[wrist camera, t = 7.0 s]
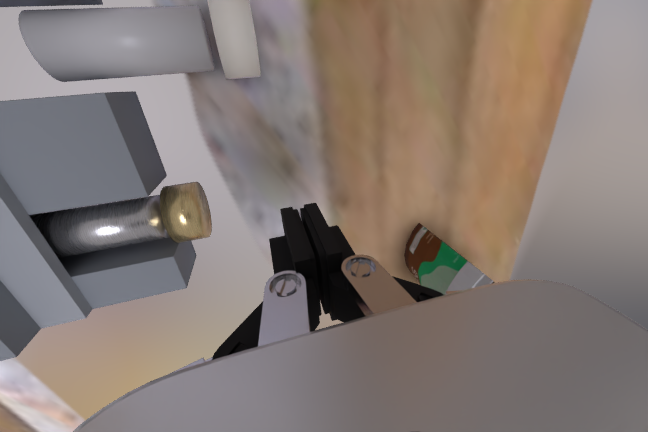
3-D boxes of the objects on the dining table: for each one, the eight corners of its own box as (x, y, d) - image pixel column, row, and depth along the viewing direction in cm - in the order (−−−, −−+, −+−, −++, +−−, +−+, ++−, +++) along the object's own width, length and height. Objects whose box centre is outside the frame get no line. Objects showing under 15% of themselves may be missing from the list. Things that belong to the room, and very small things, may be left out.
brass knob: (38, 198, 17) (-14, 225, 14) (199, 174, 19) (188, 193, 16) (69, 247, 19) (30, 282, 16) (213, 221, 21) (207, 247, 18)
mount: (-188, -71, 11) (-691, -254, 5) (77, -65, 13) (-67, -194, 7) (62, 282, 20) (-16, 364, 14) (196, 255, 22) (177, 317, 16)
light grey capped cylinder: (51, 8, 14) (-14, -18, 10) (246, 3, 16) (246, -20, 12) (88, 91, 16) (43, 93, 12) (259, 77, 18) (262, 75, 14)
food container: (372, 260, 28) (428, 337, 19) (410, 216, 27) (489, 278, 18) (435, 298, 34) (501, 371, 25) (469, 263, 32) (551, 327, 24)
